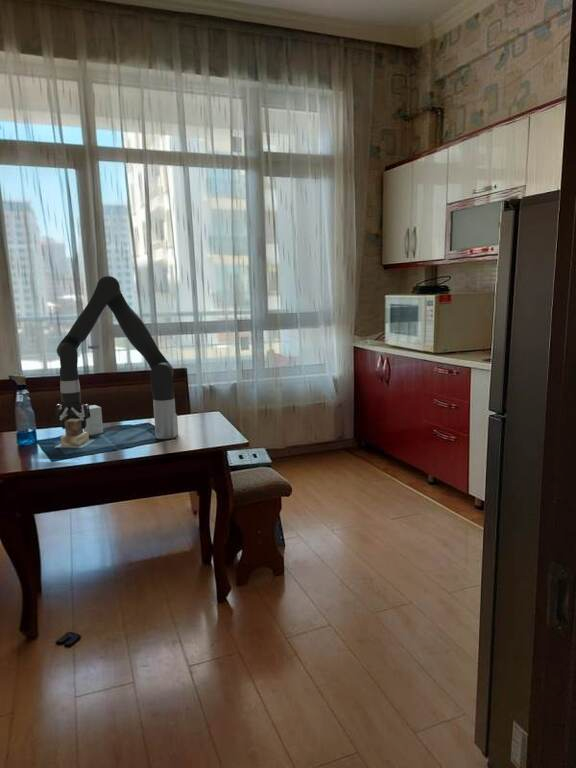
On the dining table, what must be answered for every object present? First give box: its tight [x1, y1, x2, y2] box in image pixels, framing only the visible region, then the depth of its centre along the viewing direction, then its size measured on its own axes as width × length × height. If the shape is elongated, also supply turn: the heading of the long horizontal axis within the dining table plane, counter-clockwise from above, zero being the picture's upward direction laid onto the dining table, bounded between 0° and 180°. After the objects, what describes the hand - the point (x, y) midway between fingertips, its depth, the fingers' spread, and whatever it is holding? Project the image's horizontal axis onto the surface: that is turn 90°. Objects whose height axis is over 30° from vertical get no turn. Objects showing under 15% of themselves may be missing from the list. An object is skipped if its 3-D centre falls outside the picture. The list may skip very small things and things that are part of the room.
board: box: [55, 438, 96, 449], centre depth 218 cm, size 12×12×1 cm
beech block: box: [60, 431, 90, 446], centre depth 217 cm, size 8×8×4 cm
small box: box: [81, 404, 104, 436], centre depth 234 cm, size 8×6×13 cm
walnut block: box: [64, 418, 84, 436], centre depth 216 cm, size 5×5×6 cm
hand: (74, 428), depth 216 cm, fingers open, 8 cm apart
